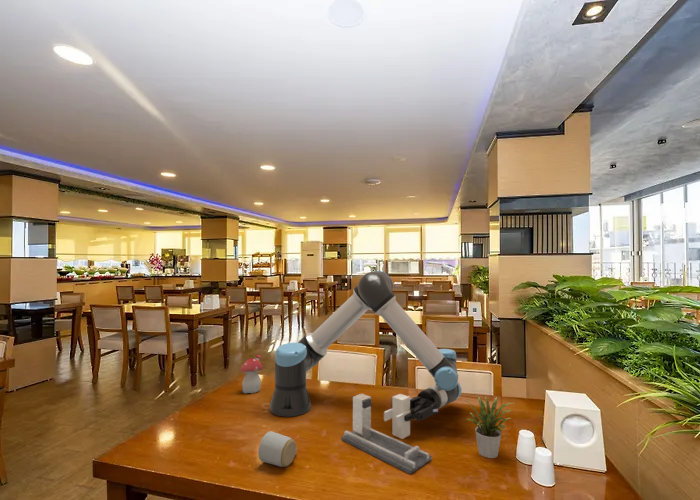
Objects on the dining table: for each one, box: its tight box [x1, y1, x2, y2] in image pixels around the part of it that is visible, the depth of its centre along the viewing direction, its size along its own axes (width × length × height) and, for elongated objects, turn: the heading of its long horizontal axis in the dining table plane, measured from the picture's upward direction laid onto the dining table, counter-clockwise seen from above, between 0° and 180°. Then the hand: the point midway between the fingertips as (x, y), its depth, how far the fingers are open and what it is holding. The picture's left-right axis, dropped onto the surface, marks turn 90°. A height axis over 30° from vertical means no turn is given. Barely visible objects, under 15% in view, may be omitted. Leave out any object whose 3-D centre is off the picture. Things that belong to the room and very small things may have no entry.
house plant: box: [463, 394, 514, 459], centre depth 105 cm, size 14×14×16 cm
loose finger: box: [391, 393, 411, 440], centre depth 117 cm, size 5×4×12 cm
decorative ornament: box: [240, 354, 263, 394], centre depth 156 cm, size 9×7×15 cm
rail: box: [341, 393, 432, 475], centre depth 108 cm, size 26×10×13 cm, turn 45°
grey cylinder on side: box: [257, 430, 298, 468], centre depth 102 cm, size 11×8×8 cm
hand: (390, 418), depth 113 cm, fingers closed on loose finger, 4 cm apart
